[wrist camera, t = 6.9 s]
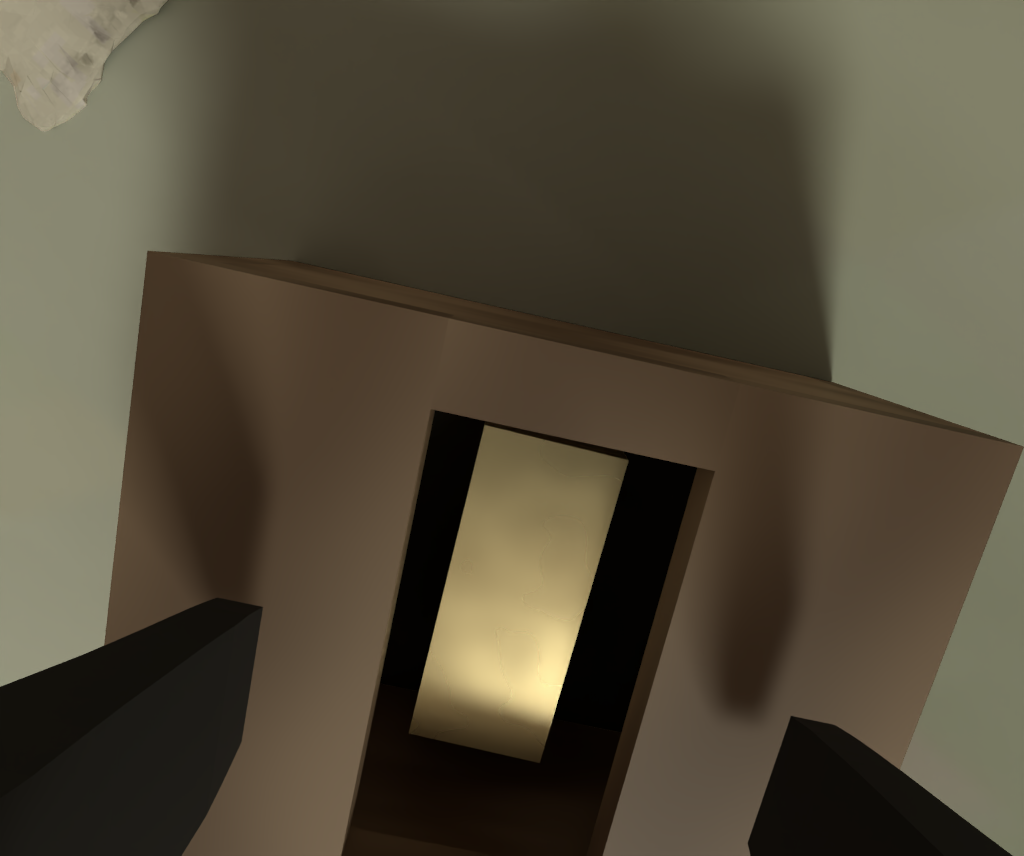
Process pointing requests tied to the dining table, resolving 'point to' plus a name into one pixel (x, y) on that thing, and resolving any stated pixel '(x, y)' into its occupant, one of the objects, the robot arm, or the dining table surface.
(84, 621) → the dining table surface
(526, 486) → the gold metal block
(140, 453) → the box
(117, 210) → the dining table surface
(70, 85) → the arrowhead
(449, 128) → the dining table surface
